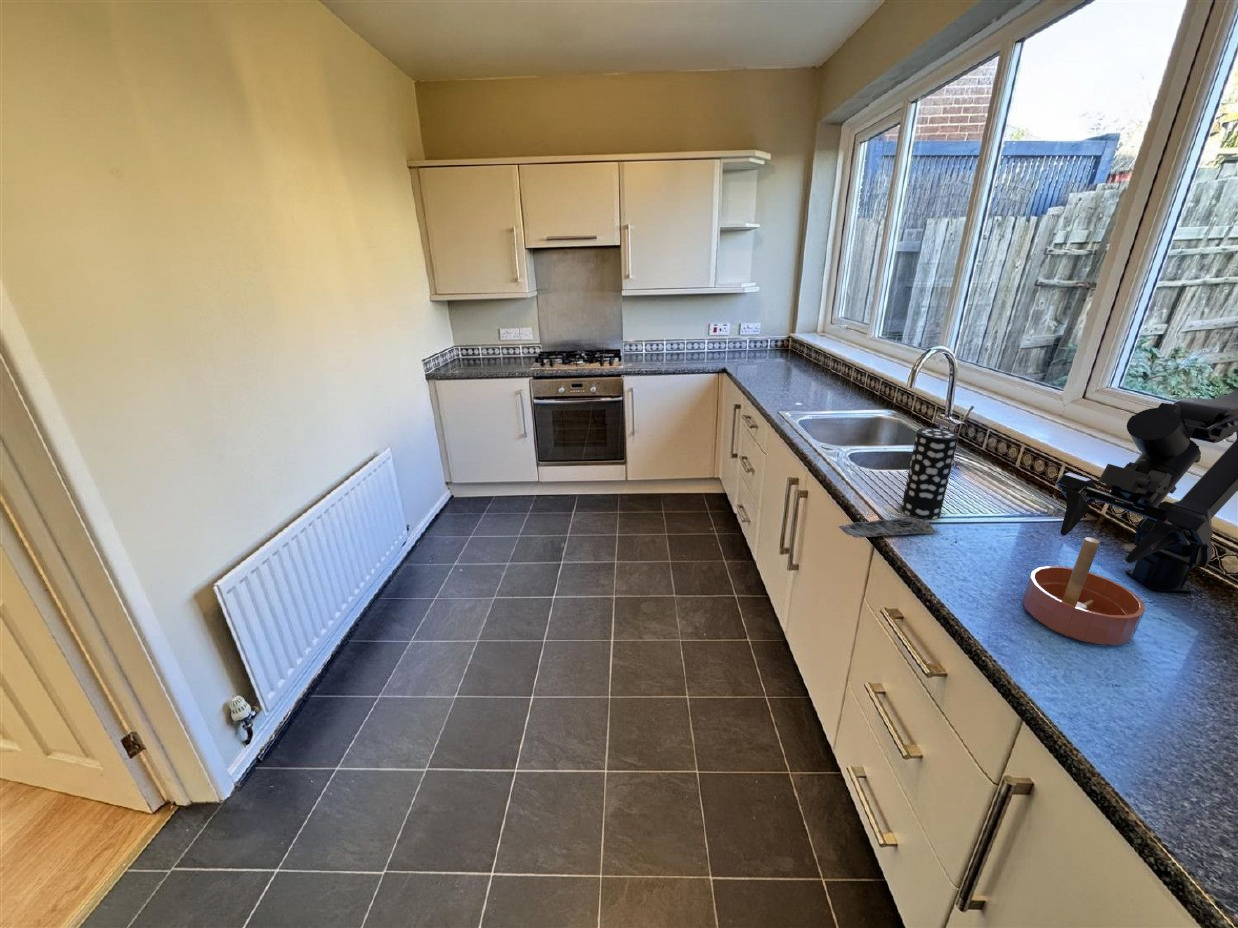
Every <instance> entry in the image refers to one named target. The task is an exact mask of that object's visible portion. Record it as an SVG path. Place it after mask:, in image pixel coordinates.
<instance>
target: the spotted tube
mask: <svg viewBox="0 0 1238 928" xmlns="http://www.w3.org/2000/svg"><path fill="white" fill-rule="evenodd" d="M959 439H960V434H958V433H956V432H954V431H951V430H949V429H944V428H936V427H923V428H922V427H921V428H918V429H917V430H916V433H915V439H914V444H913V449H912V453H911V457H910V463H909V468H908V473H907V477H906V482H905V487H904V492H903V496H902V502H901V507H900V509H901V511H902V512H903V513H904V514H906V515H908V516H911V517H912V518H916V519H921V520H936V519H938V518H940V516H941V513H942V509H943V504H944V502H945V496H946V492H947V489H948V488H947V487H948V484H949V480H950V476H951V472H952V468H953V463H954V459H955V455H956V451H957V447H958V442H959Z"/></svg>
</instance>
